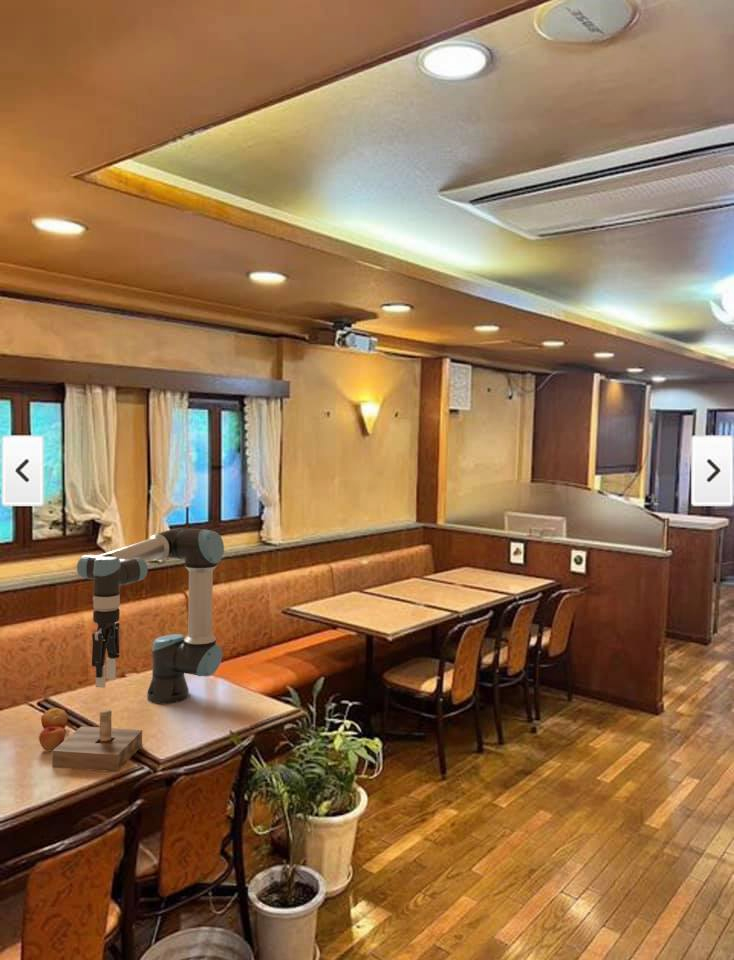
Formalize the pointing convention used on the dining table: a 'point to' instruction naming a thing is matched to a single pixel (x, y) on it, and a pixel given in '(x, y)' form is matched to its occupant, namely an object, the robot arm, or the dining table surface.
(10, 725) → the dining table surface
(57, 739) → the apple
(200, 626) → the robot arm
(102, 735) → the peg
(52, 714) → the fruit
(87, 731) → the board
